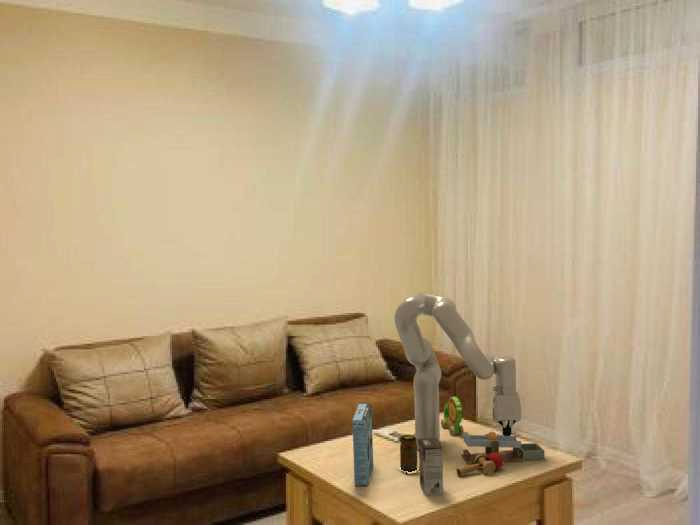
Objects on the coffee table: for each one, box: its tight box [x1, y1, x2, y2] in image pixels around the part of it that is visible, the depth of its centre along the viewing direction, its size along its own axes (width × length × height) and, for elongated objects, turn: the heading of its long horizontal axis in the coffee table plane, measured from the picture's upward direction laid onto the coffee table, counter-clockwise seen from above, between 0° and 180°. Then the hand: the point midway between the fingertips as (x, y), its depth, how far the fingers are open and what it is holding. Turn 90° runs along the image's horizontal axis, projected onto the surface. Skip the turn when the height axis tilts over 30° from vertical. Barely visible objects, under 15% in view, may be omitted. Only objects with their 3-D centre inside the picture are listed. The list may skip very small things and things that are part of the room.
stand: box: [461, 433, 525, 466], centre depth 259 cm, size 21×9×8 cm, turn 95°
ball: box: [487, 431, 497, 440], centre depth 258 cm, size 4×4×4 cm
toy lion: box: [440, 396, 465, 436], centre depth 289 cm, size 16×5×15 cm, turn 13°
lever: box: [462, 431, 522, 449], centre depth 261 cm, size 20×12×4 cm, turn 95°
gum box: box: [351, 403, 374, 486], centre depth 245 cm, size 20×5×23 cm, turn 172°
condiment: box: [399, 434, 420, 475], centre depth 250 cm, size 7×8×12 cm
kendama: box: [456, 453, 504, 478], centre depth 246 cm, size 8×6×18 cm
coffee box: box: [418, 438, 444, 496], centre depth 232 cm, size 9×6×16 cm
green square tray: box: [520, 442, 545, 462], centre depth 260 cm, size 8×8×4 cm
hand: (507, 436), depth 265 cm, fingers closed
